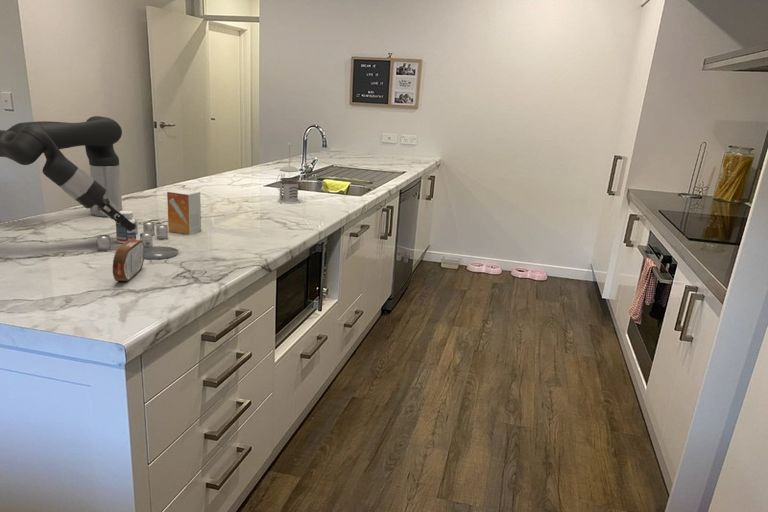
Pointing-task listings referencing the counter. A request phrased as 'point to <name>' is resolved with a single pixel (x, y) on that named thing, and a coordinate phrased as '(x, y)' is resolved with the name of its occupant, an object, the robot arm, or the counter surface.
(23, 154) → the robot arm
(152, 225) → the cylinder
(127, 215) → the pill bottle
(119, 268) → the tin
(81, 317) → the counter surface
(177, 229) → the small box
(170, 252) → the coaster
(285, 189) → the french press
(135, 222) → the cylinder
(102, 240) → the spacer near
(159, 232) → the cylinder
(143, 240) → the cylinder
